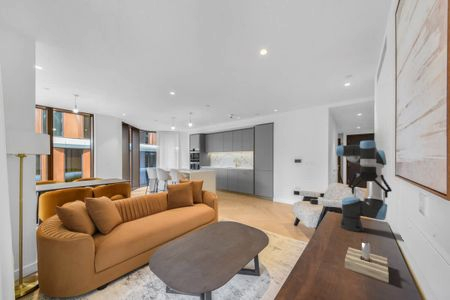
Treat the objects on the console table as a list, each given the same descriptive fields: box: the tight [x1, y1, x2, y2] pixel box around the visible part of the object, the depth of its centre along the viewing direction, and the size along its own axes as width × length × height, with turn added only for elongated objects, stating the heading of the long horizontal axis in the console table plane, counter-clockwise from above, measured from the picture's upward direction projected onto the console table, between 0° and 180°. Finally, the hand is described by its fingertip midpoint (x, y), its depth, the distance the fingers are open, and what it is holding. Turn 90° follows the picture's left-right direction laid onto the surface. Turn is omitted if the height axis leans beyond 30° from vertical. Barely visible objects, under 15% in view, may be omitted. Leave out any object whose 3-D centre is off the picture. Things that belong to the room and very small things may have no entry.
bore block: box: [344, 247, 390, 284], centre depth 88 cm, size 16×16×4 cm
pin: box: [361, 241, 371, 262], centre depth 88 cm, size 3×3×11 cm
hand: (368, 201), depth 106 cm, fingers open, 13 cm apart
